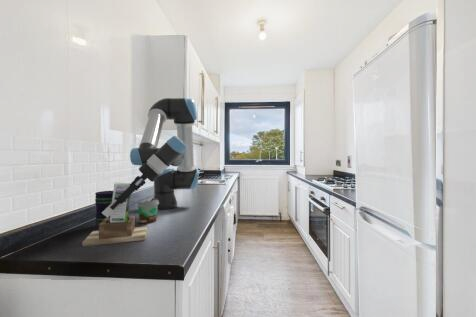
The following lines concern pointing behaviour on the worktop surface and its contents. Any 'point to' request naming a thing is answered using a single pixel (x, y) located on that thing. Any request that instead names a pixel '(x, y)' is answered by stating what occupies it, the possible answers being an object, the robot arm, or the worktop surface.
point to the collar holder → (116, 232)
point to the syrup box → (123, 209)
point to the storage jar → (102, 205)
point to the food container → (148, 211)
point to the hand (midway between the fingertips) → (107, 212)
